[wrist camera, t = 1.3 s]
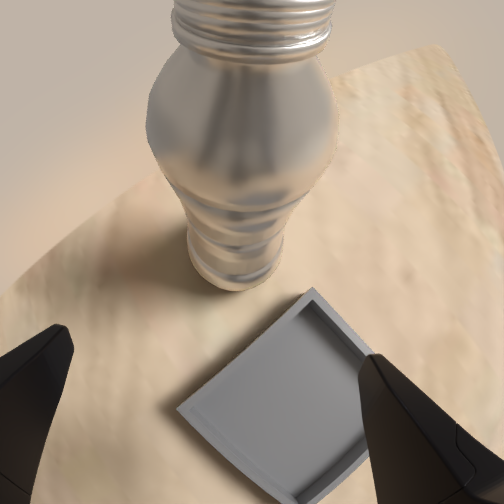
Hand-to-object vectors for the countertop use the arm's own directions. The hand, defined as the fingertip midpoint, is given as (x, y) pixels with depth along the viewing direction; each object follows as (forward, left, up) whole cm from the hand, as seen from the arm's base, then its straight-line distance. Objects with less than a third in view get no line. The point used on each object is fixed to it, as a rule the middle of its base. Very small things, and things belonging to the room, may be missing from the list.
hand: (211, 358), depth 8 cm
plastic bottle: (+5, +5, -14) cm, 16 cm away
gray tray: (+1, -7, -13) cm, 15 cm away
